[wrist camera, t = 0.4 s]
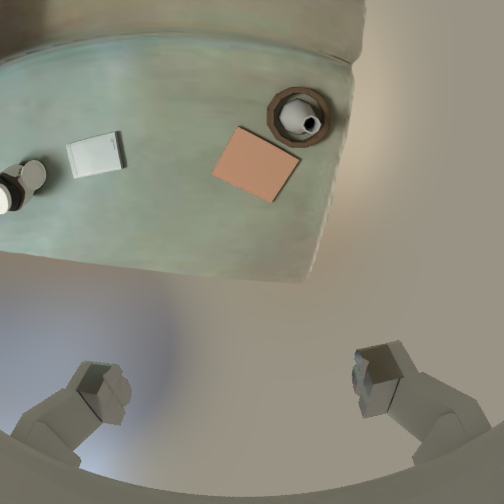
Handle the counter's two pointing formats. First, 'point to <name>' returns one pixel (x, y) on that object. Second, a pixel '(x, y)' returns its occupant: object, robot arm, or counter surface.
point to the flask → (299, 117)
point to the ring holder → (310, 140)
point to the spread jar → (20, 184)
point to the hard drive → (95, 155)
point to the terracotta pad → (254, 165)
